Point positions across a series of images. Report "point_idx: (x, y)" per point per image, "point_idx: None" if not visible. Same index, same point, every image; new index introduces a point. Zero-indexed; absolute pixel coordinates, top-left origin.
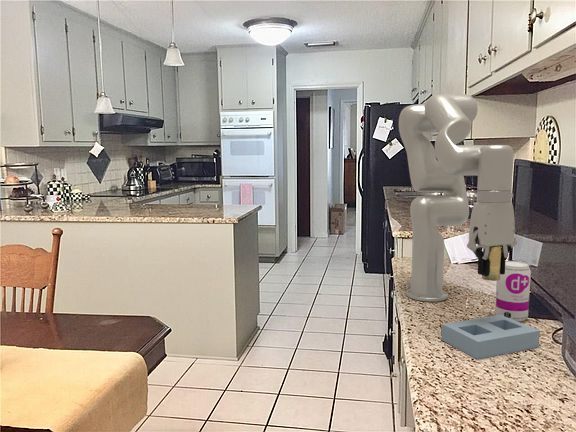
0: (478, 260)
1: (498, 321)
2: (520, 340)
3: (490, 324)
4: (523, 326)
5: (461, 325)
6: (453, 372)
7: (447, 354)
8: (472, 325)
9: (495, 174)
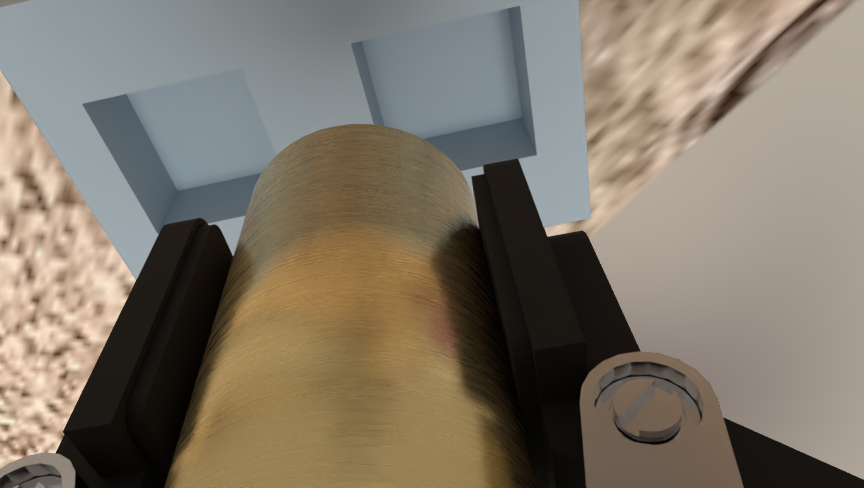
0: (64, 455)
1: (457, 16)
2: None
3: (352, 83)
4: (549, 148)
5: (123, 70)
6: (32, 329)
7: (33, 180)
8: (213, 72)
9: None
